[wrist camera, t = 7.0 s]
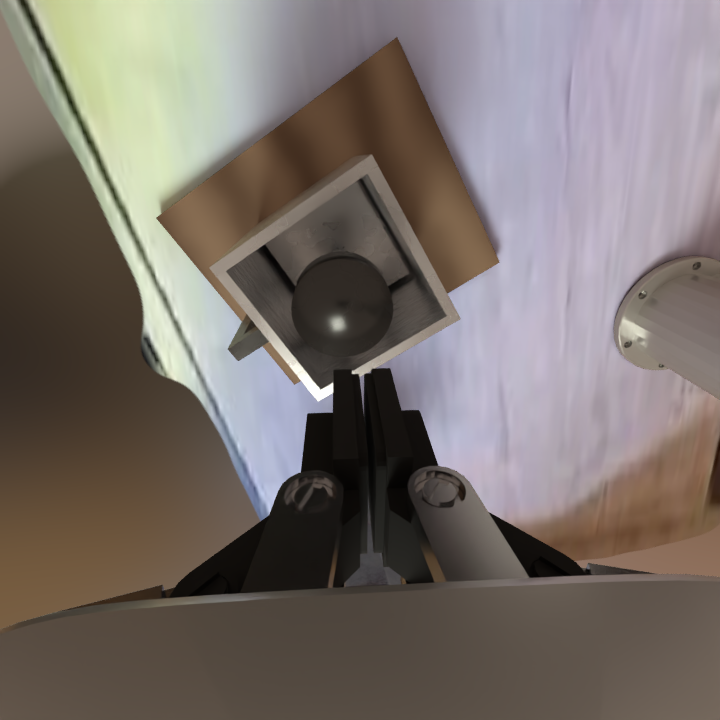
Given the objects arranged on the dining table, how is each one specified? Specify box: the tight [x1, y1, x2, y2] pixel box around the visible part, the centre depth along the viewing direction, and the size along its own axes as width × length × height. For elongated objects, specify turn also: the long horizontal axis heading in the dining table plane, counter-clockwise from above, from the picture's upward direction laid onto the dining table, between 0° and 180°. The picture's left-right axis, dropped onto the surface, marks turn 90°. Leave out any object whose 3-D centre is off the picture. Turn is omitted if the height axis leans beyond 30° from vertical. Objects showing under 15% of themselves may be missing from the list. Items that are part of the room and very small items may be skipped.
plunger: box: [265, 181, 409, 357], centre depth 25 cm, size 8×8×13 cm
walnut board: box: [157, 38, 499, 385], centre depth 37 cm, size 24×20×1 cm
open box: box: [209, 154, 460, 401], centre depth 30 cm, size 13×10×16 cm
